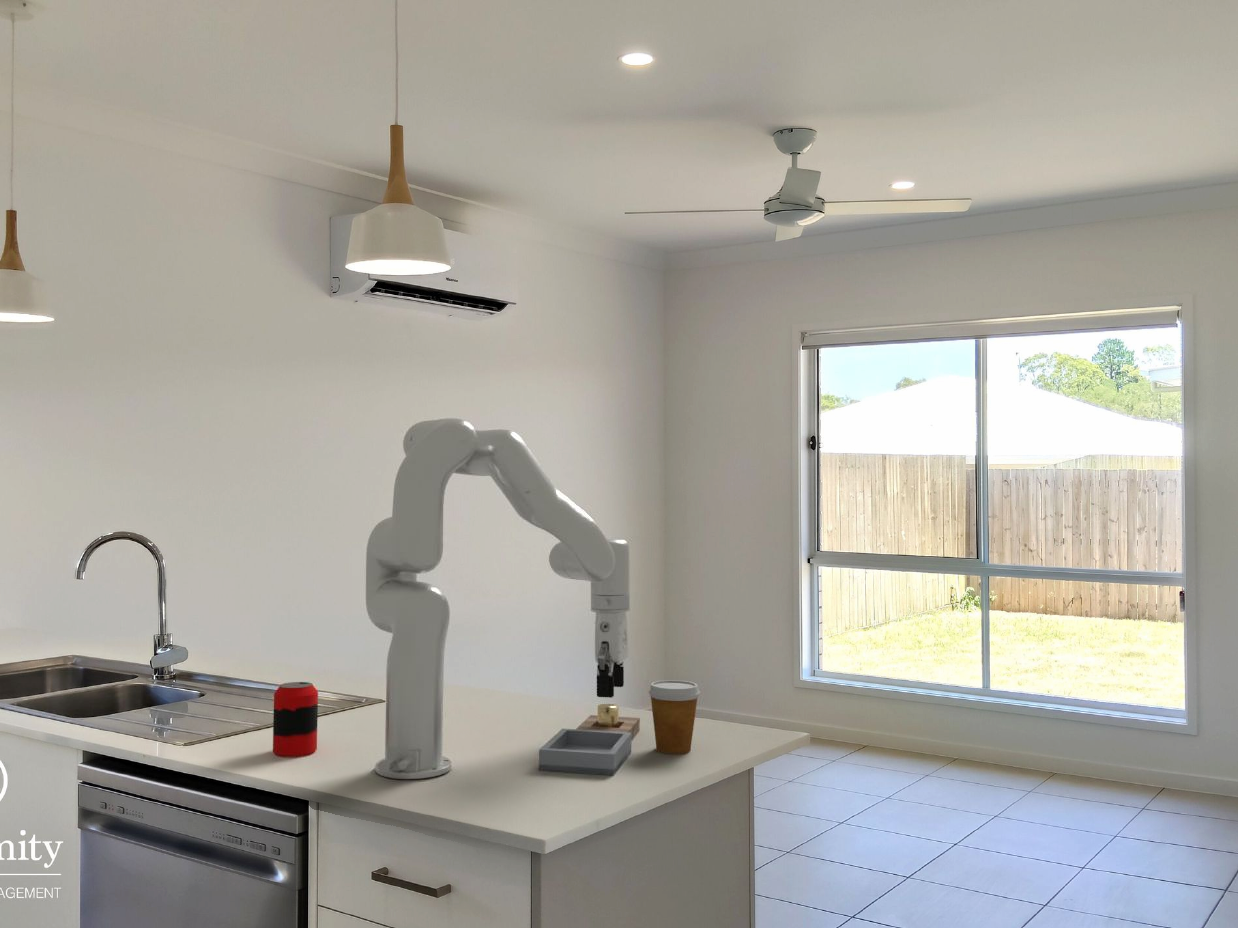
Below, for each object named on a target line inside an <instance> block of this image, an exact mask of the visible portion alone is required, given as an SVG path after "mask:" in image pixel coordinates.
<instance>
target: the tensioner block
mask: <svg viewBox="0 0 1238 928" xmlns="http://www.w3.org/2000/svg"><path fill="white" fill-rule="evenodd" d="M640 719H641V717H633V716H632V717H631V716H618V728H609V727H597V726H598V714H596V715H595V714H590V715H588V717H587V718H586V719H585V720H584V721H583V722H582V723H581V724H579V725H578V726H577V727H576V728H575V729H579V730H596V731H613V732H629V733H632V741H633V740H634V739H635V737H636V736H637V734H638V733H639V732H640V729H641V727H640V726H641V725H640V724H641V723H640V722H641V721H640Z"/></svg>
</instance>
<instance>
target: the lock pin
mask: <svg viewBox="0 0 1238 928" xmlns="http://www.w3.org/2000/svg"><path fill="white" fill-rule="evenodd" d="M597 715H598V726H597V727H609V728H618V717H619V705H618V704H614V703H602V704H598V705H597Z"/></svg>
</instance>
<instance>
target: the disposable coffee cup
mask: <svg viewBox="0 0 1238 928" xmlns="http://www.w3.org/2000/svg"><path fill="white" fill-rule="evenodd" d="M647 692H648V694H649V697H650V700H651V701H650V702H651V709H652V710H651V711H652V712H651V713H652V721H653V729H654V730H653V731H654V738H655V739H654V740H655V748H656V751H658V752H659V753H663V754H668V755H683V754H686V753H690V752H691V748H692V741H693V733H694V727H695V726H694V725H695V719H696V718H695V717H696V710H697V703H698V698H699V695H700V694H701V691H700V690H699V685H698V684H697V683H696V682H693V681H687V680H675V679H673V680H671V679H668V680H667V679H666V680H656V681H653V682H651V684H650V688H649V689H648V691H647Z"/></svg>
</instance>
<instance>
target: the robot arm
mask: <svg viewBox="0 0 1238 928" xmlns="http://www.w3.org/2000/svg"><path fill="white" fill-rule="evenodd" d="M402 448H403V451H404V455H405V457H404V459H403V460H402V462H401V463H400V466H399V468H398V469H397V473H396V477H395V481H394V485H393V496H392V497H393V498H392V513H391V516H390V517H387V518H384V519H382V520H380V522H378V523H377V524H376V525H375V526H374V527H373V529H372V530H371V532H370V534H369V537H368V540H367V545H366V556H365V558H366V559H365V607H366V612H367V615H368V618H369V620H370V621H371V623H372V624H373V625H374V626H375V627H376V628H378V629H379V630H381V631H383V632H387V633H390V634H392V637H391V641H390V643H389V644H390V645H389V649H388V653H387V658H386V669H385V670H386V674H385V676H386V679H385V680H386V681H385V682H386V683H385V685H386V686H385V687H386V688H385V733H384V736H385V739H384V743H385V744H384V745H385V746H384V758H382V759H380V760H378V761H376V763H375V766H374V768H375V769H374V770H375V772H376V773H377V775H379V776H381V777H384V778H390V779H397V780H418V779H419V780H420V779H421V780H422V779H428V778H435V777H437V776H438V777H439V776H441V775H444V774H447V773H448V772H449V771H450V770H451V769H452V760H451V759H449V758H448V757H446V756H443V734H444V733H443V729H444V728H443V727H444V725H443V724H444V722H443V721H444V673H445V672H444V670H445V669H444V667H445V666H444V665H445V664H444V662H445V649H446V643H447V642H446V641H447V635H448V630H449V626H450V619H451V616H450V615H451V611H450V605H449V602H448V599H447V597H446V596H445V594H444V593H443V591H441V590H440V589H439V588H437V586H434V585H432V584H430V583H427V582H422V581H418V580H417V577H418V576H417V574H420V575H421V574H427V573H429V572H431V571H433V570H435V569H436V567H438V565H439V564H440V562H441V561H442V557H443V552H444V551H443V550H444V505H445V504H444V503H445V492H446V488H447V485H448V482H449V480H450V479H451V477H452V476H453V474H457V475H464V476H465V475H466V476H475V477H477V476H478V477H491V479H492V480H493V482H494V483H495V484H496V486H497V487H498V488H499V489H500V491H501V492H502V493H503V495H504V497H505V498H506V499H507V501H508V502H509V504H510V505H511V506H512V508H513V510H514V511H515V512H516V514H517V515H518V516H519V517H520V518H522V519H523V520H524V521H526V522H528V524H530V525H532V526H535V527H536V528H539V529H541V530H543V531H545V532H547V533H548V534H550V535H552V536H553V537H555V538H556V539H557V540H559V542H557V543H556V544H555V545H554V546H553V547H552V549H550V551H549V555H548V564H549V566H550V568H551V570H552V571H553V572H554V573H555V574H556V575H558V576H559V577H561V578H563V579H570V580H576V581H586V582H590V611H591V612H593V613H595V620H594V621H595V622H594V624H595V625H594V626H595V627H594V659H595V663H596V664H597V668H596V697H598V698H611V699H612V698H614V696H615V688H623V687H624V685H625V684H624V683H625V678H624V677H625V676H624V675H625V674H624V673H625V670H624V669H625V667H624V661H625V660H627V659H628V657H629V637H628V636H629V633H628V618H627V612H629V611H630V604H631V603H630V595H631V594H630V546H629V545H630V544H629V543H628V542H627V540H625V539H620V538H607V537H606V535H605V534H604V533H603V531H602V530H601V528H600V527H599V526H598V524H597V523H596V522H595V520H593V518H592V517H591V516H589V514H587V513H586V512H585V511H584V510H583V509H582V508H580V507H579V506H578V505H576V503H574V502H573V501H572V500H571V499H570V498H568V496H566V495H565V494H563V493H562V492H561V491H560V490H559V489H558V488H557V487H556V486H555V484H554V483H553V481H552V479H550V477H549V476H548V474H547V473H546V471H545V470H544V469H543V467H542V466H541V464H540V462H539V461H538V460H537V458H536V456H534V454H533V452H532V451H531V449H529V447H528V445H527V443H526V442H525V441H524V440H523V438H522V437H521V436H520V435H519V434H518V433H517V432H514V431H513V430H509V429H503V428H502V429H499V428H498V429H487V430H478V429H477V430H475V428H474V426H473V425H472V424H471V423H470V422H468V421H467V420H464V419H462V418H461V419H460V418H454V417H453V418H452V417H451V418H439V419H434V420H433V419H432V420H423V421H419V422H417V423H414V424H413V425H412V426H411V427H409V428H408V429H407V431H406V433H405V435H404V437H403V441H402Z"/></svg>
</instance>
